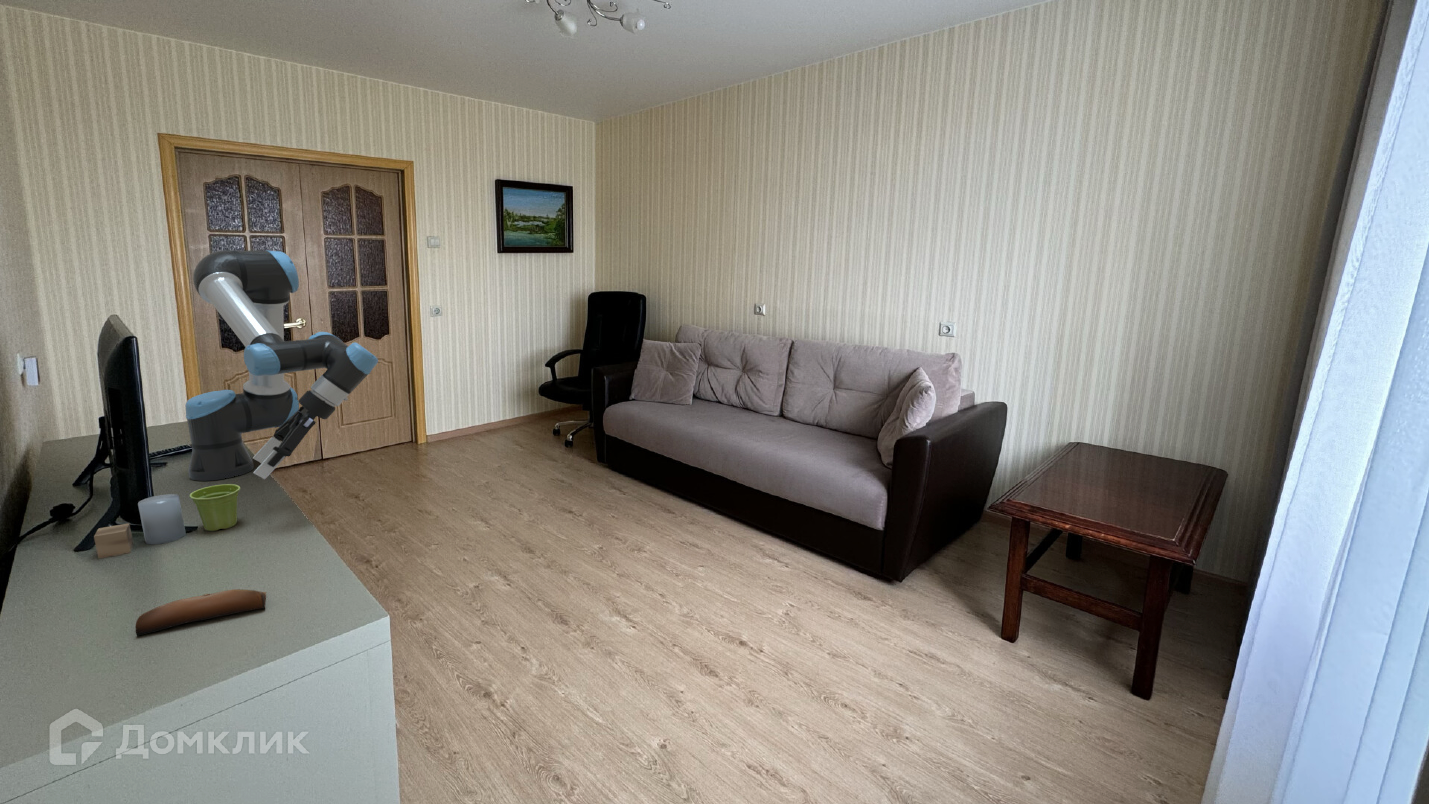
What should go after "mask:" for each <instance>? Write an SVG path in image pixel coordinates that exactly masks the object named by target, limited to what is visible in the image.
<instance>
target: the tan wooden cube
mask: <svg viewBox="0 0 1429 804" xmlns="http://www.w3.org/2000/svg"><path fill="white" fill-rule="evenodd" d="M93 539H94V543H95V544H94V545H95V548H96V552H97V558H98V559H103V558H109V556H110V557H115V556H121V555H125V554H124V553H126V554H130V553H131V552H130V551H132V549H133V547H134V540H133V539H134V538H133V535H132V529H131V525H130V523H124V524H118V525H110V526H105V527H100V528H98V529H97V530H96V532H95V534H94V536H93Z"/></svg>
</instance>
